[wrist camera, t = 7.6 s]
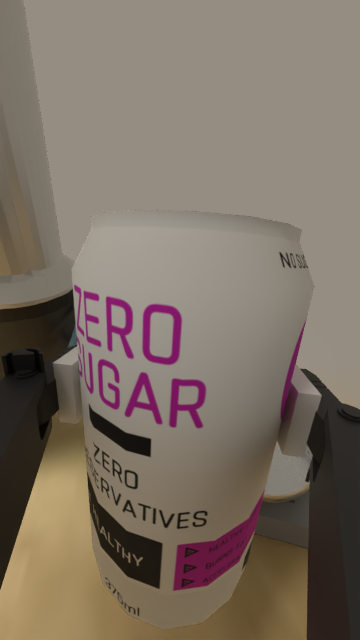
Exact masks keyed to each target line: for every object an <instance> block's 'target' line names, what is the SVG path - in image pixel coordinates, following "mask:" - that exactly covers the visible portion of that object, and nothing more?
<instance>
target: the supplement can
mask: <svg viewBox="0 0 360 640" xmlns="http://www.w3.org/2000/svg"><path fill="white" fill-rule="evenodd" d="M91 223H92V229H91V231H90V233H89V235H88V237H87V239H86V241H85V243H84V245H83V247H82V249H81V251H80V253H79V255H78V257H77V259H76V261H75V263H74V265H73V267H72V269H71V271H72V284H73V296H74V309H75V322H76V335H77V348H78V361H79V374H80V387H81V400H82V413H83V425H84V438H85V451H86V464H87V477H88V490H89V503H90V516H91V529H92V542H93V549H94V553H95V557H96V560H97V564H98V567H99V571H100V574H101V578H102V582H103V584H104V586H105V587H106V588H107V589H108V591H109V592H110V593H111V594H112V596H113V597H114V598H115V599H116V601H117V602H118V603H119V604H120V606H121V607H122V608H123V609H124V611H125V612H126V613H127V615H130V616H132V617H134V618H137V619H139V620H141V621H144V622H146V623H148V624H151V625H153V626H155V627H158V628H160V629H162V630H165V629H171V628H177V627H183V626H189V625H195V624H201V623H202V622H203V621H205V620H206V619H207V618H208V617H209V616H211V615H212V614H213V613H214V612H215V611H217V610H218V609H219V608H220V607H221V606H223V605H224V604H225V603H226V602H227V601H228V600H230V599H231V597H232V594H233V592H234V590H235V588H236V586H237V584H238V582H239V580H240V578H241V576H242V573H243V571H244V569H245V567H246V565H247V561H248V557H249V553H250V549H251V545H252V540H253V536H254V532H255V528H256V524H257V520H258V516H259V512H260V508H261V503H262V499H263V495H264V491H265V487H266V483H267V479H268V475H269V471H270V466H271V462H272V458H273V454H274V450H275V446H276V442H277V438H278V434H279V429H280V425H281V421H282V417H283V413H284V409H285V405H286V401H287V397H288V392H289V388H290V384H291V380H292V376H293V372H294V368H295V364H296V360H297V356H298V351H299V347H300V342H301V339H302V335H303V331H304V326H305V323H306V319H307V314H308V310H309V306H310V302H311V298H312V294H313V289H314V285H313V282H312V278H311V275H310V272H309V269H308V266H307V263H306V260H305V257H304V254H303V251H302V248H301V245H300V242H299V241H300V236H301V232H302V230H301V229H299V228H297V227H294V226H292V225H290V224H288V223H282V222H277V221H272V220H267V219H261V218H256V217H251V216H240V215H231V214H220V213H210V212H199V211H172V210H168V211H167V210H130V211H114V212H104V213H101V214H98V215H95V216H92V217H91Z"/></svg>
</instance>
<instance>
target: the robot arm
mask: <svg viewBox="0 0 360 640" xmlns="http://www.w3.org/2000/svg"><path fill="white" fill-rule="evenodd" d="M74 263H75V262H74V261H73V260H71V259H70V258H69V257H67V256H66V255H64V254H63V253H62V249H61V243H60V237H59V230H58V223H57V217H56V211H55V203H54V197H53V191H52V184H51V177H50V171H49V164H48V158H47V151H46V144H45V138H44V132H43V125H42V118H41V112H40V105H39V99H38V92H37V86H36V79H35V73H34V66H33V60H32V53H31V46H30V40H29V33H28V27H27V20H26V13H25V7H24V1H23V0H0V589H1V586H2V582H3V579H4V576H5V573H6V570H7V567H8V564H9V560H10V557H11V554H12V551H13V548H14V545H15V542H16V538H17V535H18V532H19V529H20V526H21V523H22V520H23V516H24V513H25V510H26V507H27V504H28V501H29V498H30V494H31V491H32V488H33V485H34V482H35V479H36V475H37V472H38V469H39V466H40V463H41V460H42V457H43V453H44V450H45V447H46V444H47V441H48V438H49V435H50V431H51V428H52V418H51V417H52V416H53V415H54V414H55V413H56V412H57V411H58V412H59V420H60V422H64V423H71V424H78V422H79V421H80V420H81V418H82V417H83V413H82V400H81V387H80V374H79V361H78V348H77V335H76V322H75V309H74V296H73V284H72V271H71V269H72V267H73V265H74ZM277 442H278V444H279V447H280V449H281V452H282V455H288V456H295V457H302V458H303V457H304V454H305V451H306V447H307V445H308V447H309V449H310V451H311V453H312V455H313V456H312V460H311V463H310V466H309V469H308V472H307V476H306V479H305V481H306V482H309V541H308V601H307V640H360V410H359V409H358V408H355V407H352V406H350V405H347V404H342V403H341V402H340V401H339V400H338V399H337V398H336V397H335V396H334V395H333V394H332V393H331V392H330V390H329V389H327V387H326V386H325V385H324V384H323V383H322V382H321V381H320V380H319V378H318V377H317V376H316V375H314V374H313V373H311V372H310V371H308V370H307V369H299V367H298V366H297V365H296V364H295V368H294V372H293V376H292V380H291V384H290V388H289V392H288V397H287V401H286V405H285V409H284V413H283V417H282V421H281V425H280V429H279V434H278V438H277ZM309 480H310V481H309Z"/></svg>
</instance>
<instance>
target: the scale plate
mask: <svg viewBox="0 0 360 640" xmlns="http://www.w3.org/2000/svg"><path fill="white" fill-rule="evenodd" d="M312 456H313V455H312V453H311V451H310V449H309V447H308V445H307V447H306V451H305V454H304V457H303V458H302V457H295V456H288V455H282V452H281V449H280V447H279V444H278V442H276V446H275V450H274V454H273V458H272V462H271V466H270V471H269V475H268V479H267V483H266V487H265V491H264V495H263V499H262V502H272V503H279V502H287V501H291V500H294V499H296V498H298V497H300V496H302V495H303V494H304V493H305V492H307V490H308V489H309V482H306V481H305V479H306V476H307V472H308V469H309V466H310V463H311V460H312ZM309 481H310V480H309Z"/></svg>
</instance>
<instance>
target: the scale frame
mask: <svg viewBox="0 0 360 640" xmlns="http://www.w3.org/2000/svg"><path fill="white" fill-rule="evenodd" d="M254 534H258V535H261V536H265V537H268V538H272V539H276V540H279V541H283V542H287V543H290V544H294V545H297V546H301V547H305V548H308V541H309V489H308V490H307V492H305V493H304V494H303V495H302V496H300V497H298V498H296V499H294V500H291V501H287V502H279V503H272V502H262V503H261V508H260V512H259V516H258V520H257V524H256V528H255V532H254Z"/></svg>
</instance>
